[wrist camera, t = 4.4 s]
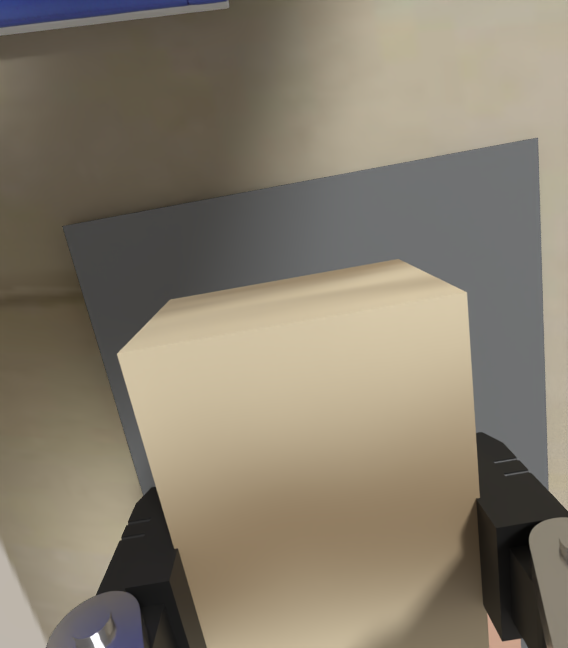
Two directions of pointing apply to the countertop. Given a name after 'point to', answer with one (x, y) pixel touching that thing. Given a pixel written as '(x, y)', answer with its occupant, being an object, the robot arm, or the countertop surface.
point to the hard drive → (90, 12)
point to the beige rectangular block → (318, 458)
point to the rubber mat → (345, 252)
